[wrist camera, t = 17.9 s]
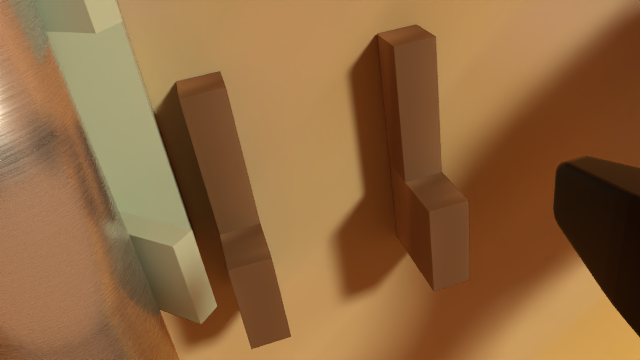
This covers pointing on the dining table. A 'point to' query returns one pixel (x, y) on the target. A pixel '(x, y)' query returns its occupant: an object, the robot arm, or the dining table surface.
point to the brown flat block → (406, 174)
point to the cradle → (129, 149)
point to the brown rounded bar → (61, 221)
